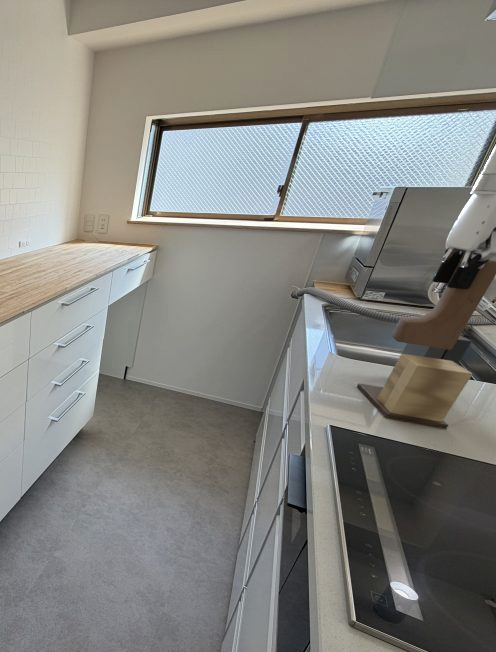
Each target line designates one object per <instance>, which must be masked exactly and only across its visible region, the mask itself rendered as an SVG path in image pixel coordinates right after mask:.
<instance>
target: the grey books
mask: <svg viewBox="0 0 496 652" xmlns="http://www.w3.org/2000/svg"><path fill="white" fill-rule="evenodd" d="M472 342H473V341H472V340H471V339H469V338H466V337H464V336H462V334H461V335H460V336H459V338H458V340H457V341H456V343H455V345H454V346H453V348H452V349H451V350H447V349H441V348H434V347H428V346H422V345H416V344H410V343H405V346H404V348H403V350H402V352H401V354H408V355H415V356H422V357H429V358H436V359H443V360H450V361H453V362H455V363H456V364H458V365H459V363H460V362H461V360H462V358H463V357H464V355H465V353H466V352H467V350H468V348H469V347H470V346H471V343H472Z"/></svg>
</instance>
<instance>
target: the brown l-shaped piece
mask: <svg viewBox="0 0 496 652" xmlns="http://www.w3.org/2000/svg"><path fill="white" fill-rule="evenodd" d="M463 258H464V257H463ZM463 258H462V259H461V261H460V263H459V265H458V267H461V264H462V261H463ZM472 258H473V257H472ZM472 258H471V259H472ZM495 277H496V259H493V258H491V259H490V260H489V261H487V262H486V263H485V264H484V267H483V268H482V269H480V270H479V272H478V274H477V275H476V277H475V279H474V281H473V282H472V284H471V286H470V288H469V289H458V288H449V287H447V286H445V289H444V290H443V292H442V294H441V295H440V298H439V300H438V301H437V303H436V305H434V307H433V308H432V309H431V310H429V312H427V313H425V314H423V315H420V316H417V317H416V316H415V317H414V316H413V317H408V316H407V317H406V316H404V317H403V316H402V317H400V318H399V319H398V322H397V323H396V325H395V327H394V329H393V331H392V333H391V337H392V338H393V339H394V340H395V341H396V342H398V343H404V344H407V343H410V344H416V345H422V346H428V347H434V348H441V349H447V350H451V349H452V348H453V346H454V345H455V343H456V341H457V340H458V338H459V336H460V335H461V336H462V333H463V332H464V330H465V329H466V326H467V325H468V323H469V321H470V320H471V318H472V317H473V314H474V313H475V311H476V309H477V308H478V306H479V304H480V303H481V301H482V299H483V297H484V296H485V294H486V292H487V291H488V289H489V287H490V285H491V284H492V282H493V281H494V279H495Z"/></svg>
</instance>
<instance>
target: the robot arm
mask: <svg viewBox="0 0 496 652" xmlns="http://www.w3.org/2000/svg"><path fill="white" fill-rule="evenodd" d="M469 194H470V195H471V197H470V198H469V200H467V202H466V204H465V205H464V207H463V208H462V210H461V212H460V214H459V215H458V217H457V218H456V220H455V222H454V224H453V226H452V227H451V229H450V231H449V234H448V235H447V238H446V240H445V245H444V246H445V251H444V256H443V257H442V259H441V263H440V264H439V267H438V268H437V271H436V273H435V275H434V277H433V278H432V283H433V282H434V283H438V284H446V287H449V288H458V289H469V288H470V286H471V284H472V282H473V281H474V279H475V277H476V275H477V274H478V272H479V270H480V269H482V268H483V267H484V264H485V263H486V262H487V261H489V260H490V259H493V258H494V257H496V144H495V145H494V147H493V149H492V151H491V153H490V155H489V157H488V159H487V161H486V162H485V164H484V167H483V169H482V170H481V172H480V174H479V176H478V178H477V180H476V182H475V184H474V186H473V187H472V189H471V192H470V193H469ZM463 257H464V258H463ZM462 258H463V261H462V264H461V267H458V265H459V263H460V261H461V259H462ZM471 258H472V259H471Z"/></svg>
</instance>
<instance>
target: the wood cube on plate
mask: <svg viewBox="0 0 496 652" xmlns="http://www.w3.org/2000/svg"><path fill="white" fill-rule="evenodd" d="M472 376H473V373H472V372H471V371H469V370H467V369H466V368H465V367H463V366H461V365H459V363H458V364H456V363H455V362H453V361H450V360H443V359H436V358H429V357H422V356H415V355H408V354H402V353H401V354H400V355H399V357H398V359H397V361H396V363H395V365H394V367H393V368H392V371H391V372H390V374H389V376H388V378H387V379H386V381H385V383H384V385H383V386H377V385H371V384H365V383H360V382H359V383H358V384H357V385H356V388H357V389H358V390H359V391H360V392H361V393H362V394H363V395H364V397H366V398H367V400H368V401H369V402H370V403H371V404H372V405H373V407H375V408H376V409H377V411H378V412H379V413H380V414H381V415H382V416H383V417H384V418H385V419H389V420H395V421H399V422H400V421H401V422H407V423H411V424H417V425H422V426H428V427H432V428H433V427H434V428H438V429H443V430H447V429H448V427H449V423H447V422H446V421H445V418H446V416H447V415H448V413H449V412H450V411H451V409H452V407H453V406H454V404H455V402H456V401H457V400H458V398H459V396H460V395H461V392H463V390H464V389H465V387H466V385H467V383H468V382H469V381H470V379H471V378H472Z"/></svg>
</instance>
